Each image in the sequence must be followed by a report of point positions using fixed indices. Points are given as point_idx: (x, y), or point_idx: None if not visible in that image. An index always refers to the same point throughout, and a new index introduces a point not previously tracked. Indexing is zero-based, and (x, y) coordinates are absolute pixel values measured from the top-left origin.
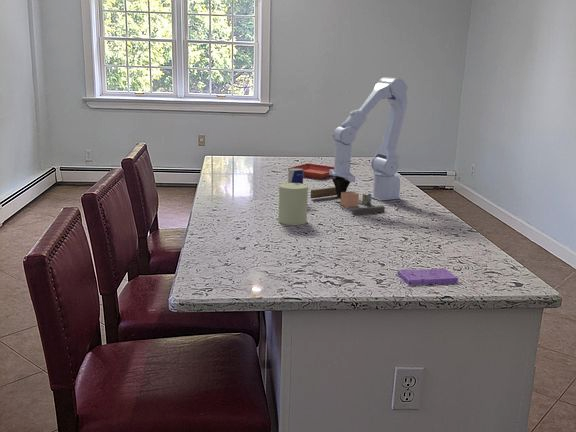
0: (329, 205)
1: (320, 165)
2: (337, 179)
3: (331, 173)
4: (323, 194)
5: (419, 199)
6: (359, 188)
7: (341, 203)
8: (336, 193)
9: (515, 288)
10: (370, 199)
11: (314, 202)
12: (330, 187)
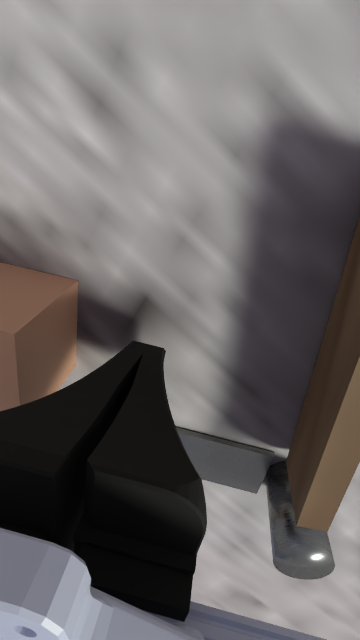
0: (79, 157)
1: None
2: (3, 474)
3: (41, 601)
4: (338, 328)
5: None
6: (344, 625)
7: (58, 280)
8: (295, 448)
9: None
10: None
11: (273, 97)
12: (354, 465)
